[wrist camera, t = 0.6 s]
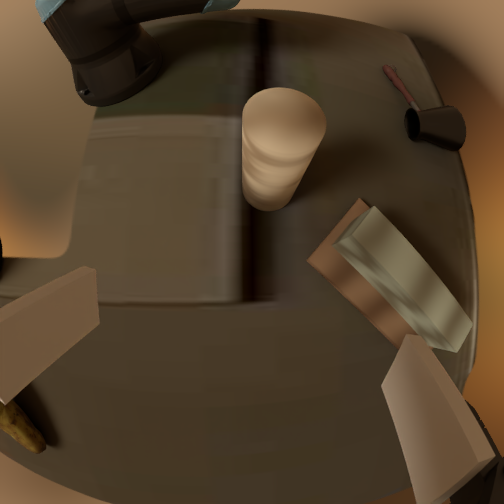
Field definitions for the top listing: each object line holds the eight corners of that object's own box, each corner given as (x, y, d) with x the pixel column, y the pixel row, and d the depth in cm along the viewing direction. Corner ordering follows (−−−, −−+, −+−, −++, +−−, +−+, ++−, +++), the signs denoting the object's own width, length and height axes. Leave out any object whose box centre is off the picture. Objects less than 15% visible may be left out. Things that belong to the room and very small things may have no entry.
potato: (30, 446, 24) (5, 462, 16) (-3, 379, 26) (-32, 388, 18) (56, 446, 25) (30, 467, 17) (20, 373, 27) (-13, 383, 19)
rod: (235, 171, 32) (232, 95, 18) (283, 159, 32) (307, 83, 18) (250, 217, 31) (257, 161, 17) (300, 203, 31) (339, 144, 17)
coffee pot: (453, 160, 33) (412, 158, 34) (414, 84, 38) (376, 80, 39) (473, 134, 26) (430, 128, 27) (424, 57, 31) (384, 50, 32)
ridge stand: (305, 260, 30) (323, 251, 23) (356, 200, 32) (381, 179, 25) (414, 366, 29) (446, 378, 22) (452, 307, 30) (485, 308, 23)
